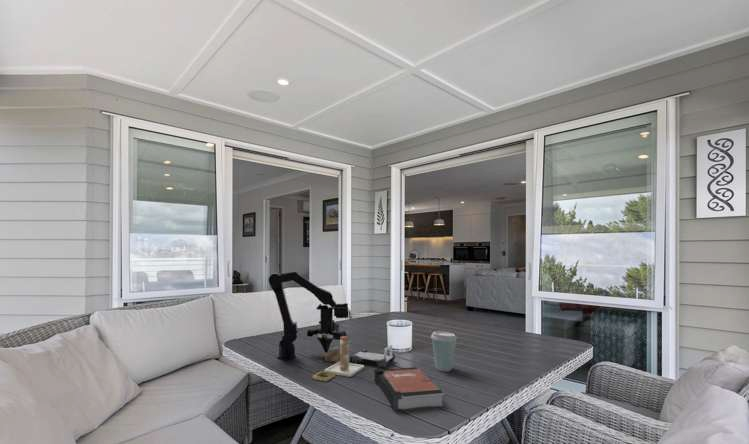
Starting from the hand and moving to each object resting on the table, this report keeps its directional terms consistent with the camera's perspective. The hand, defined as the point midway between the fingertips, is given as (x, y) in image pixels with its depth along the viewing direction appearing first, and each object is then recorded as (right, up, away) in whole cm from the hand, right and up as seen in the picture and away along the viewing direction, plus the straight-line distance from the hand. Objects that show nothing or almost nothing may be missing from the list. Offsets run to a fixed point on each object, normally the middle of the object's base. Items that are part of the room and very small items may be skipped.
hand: (326, 352), depth 172 cm
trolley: (+22, -1, -10) cm, 24 cm away
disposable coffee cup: (+52, -1, -19) cm, 55 cm away
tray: (+10, 0, -20) cm, 23 cm away
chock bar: (+5, -2, -3) cm, 6 cm away
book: (+34, +1, -44) cm, 55 cm away
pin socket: (+3, 0, -29) cm, 29 cm away
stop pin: (+10, 0, -20) cm, 23 cm away
